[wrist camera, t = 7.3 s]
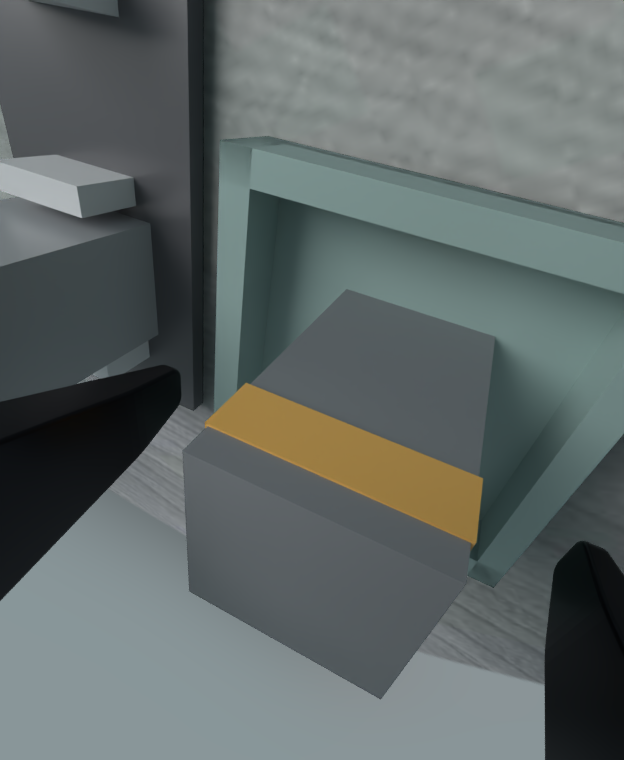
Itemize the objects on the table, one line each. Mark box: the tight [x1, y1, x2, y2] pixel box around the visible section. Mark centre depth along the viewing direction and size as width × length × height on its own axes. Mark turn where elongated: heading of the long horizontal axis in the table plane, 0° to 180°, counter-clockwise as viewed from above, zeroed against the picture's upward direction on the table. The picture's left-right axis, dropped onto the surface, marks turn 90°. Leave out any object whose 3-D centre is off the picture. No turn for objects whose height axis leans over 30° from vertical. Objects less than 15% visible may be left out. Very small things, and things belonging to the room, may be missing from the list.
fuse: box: [183, 289, 495, 699], centre depth 9 cm, size 4×4×7 cm
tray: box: [214, 136, 624, 588], centre depth 11 cm, size 10×10×2 cm
